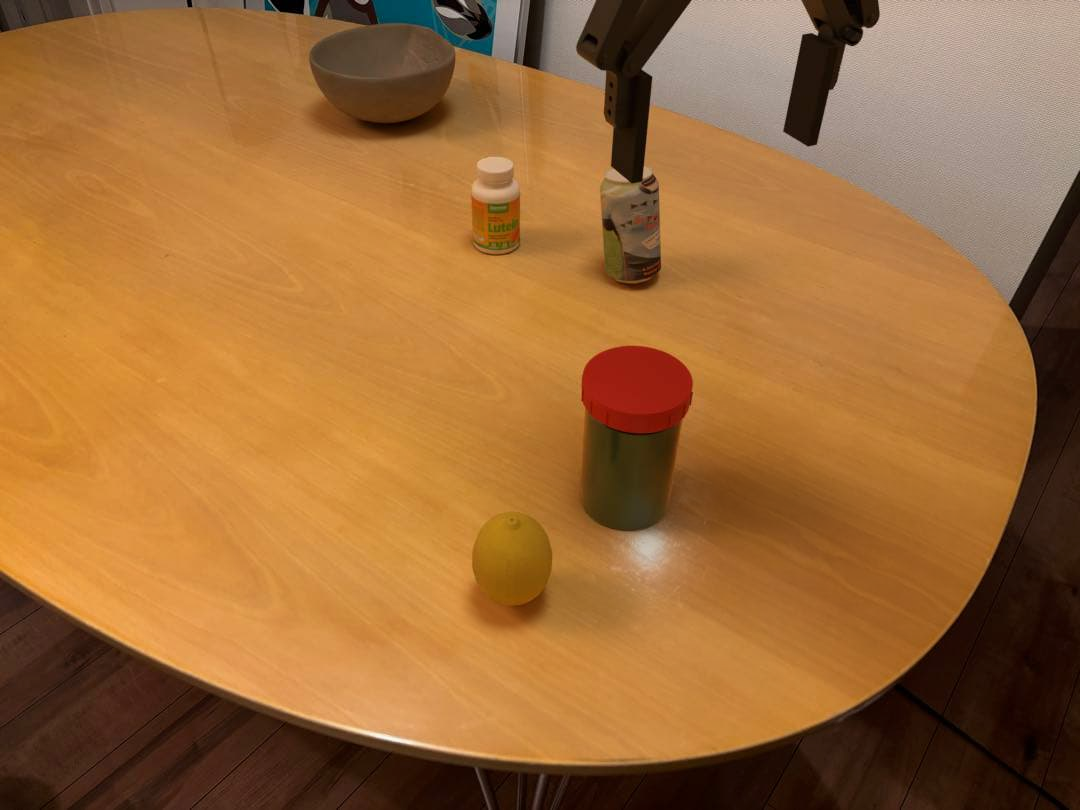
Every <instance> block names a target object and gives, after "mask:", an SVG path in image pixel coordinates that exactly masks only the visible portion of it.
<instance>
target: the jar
mask: <svg viewBox="0 0 1080 810" xmlns="http://www.w3.org/2000/svg"><path fill="white" fill-rule="evenodd" d="M583 419H584V420H583V421H584V422H583V436H582V453H581V467H580V484H579V500H580V504H581V507H582V509H583V510H584V512H585V513H586V514H587V516H589V518H591V519H592V520H593V521H595V523H598V524H600V525H601V526H603V527H606V528H609V529H613V530H617V531H625V532H627V531H628V532H632V531H633V532H634V531H639V530H644V529H648V528H650V527H652V526H653V525H656V524H657V523H659V522H660V521H661V520H663V518H664V517H665V516H666V514H667V512H668V510H669V507H670V503H671V497H672V490H673V483H674V477H675V470H676V464H677V459H678V453H679V446H680V439H681V433H682V427H683V420H684V418H683V419H682V420H681V421H680V422H678V423H677V424H676V425H674V426H672V427H670V428H668V429H665V430H662V431H658V432H653V433H629V432H624V431H620V430H616V429H613V428H610V427H608V426H606V425H604V424H602V423H600V422H599V421H597V420H596V419H595V418H593V417H592V416H591V415H590V414H589V412H588V411H587V410H586V408H585V407H584V418H583Z"/></svg>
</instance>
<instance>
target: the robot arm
mask: <svg viewBox="0 0 1080 810" xmlns="http://www.w3.org/2000/svg"><path fill="white" fill-rule="evenodd" d="M692 1H693V0H595V2H594V4H593V6H592V9H591V11H590V13H589V16H588V18H587V20H586V21H585V24H584V26H583V28H582V31H581V33H580V35H579V37H578V40H577V42H576V45H575V50H576V53H577V55H578V56H579V57H581V58H582V59H583V60H585V61H586V62H588V63H590V64H591V65H592V66H593V67H595V68H597V69H598V70H600V71H603V72H605V86H604V99H603V100H604V101H603V102H604V103H603V104H604V105H603V116H604V119H605V122H606V123H608V124H609V125H610V126H611V127H613V130H612V142H611V143H612V145H611V157H610V167H611V168H614V169H615V170H616V171H617V172H618V173H620V174H621V175H622V176H623V177H624V178H626V179H627V180H628V181H629V182H630V183H632V184H633V183H638V182H642V181H643V170H644V165H645V158H646V148H647V139H648V127H649V117H650V106H651V96H652V88H653V75H651V74H650V73H648V72H646V71H645V70H643V68H644V67H645V65H646V64H647V62H649V60H650V58H651V57H652V56H653V54H654V53H655V51H656V50H657V48H658V47H659V46H660V45H661V43H662V42H663V41H664V39H665V38H666V36H667V35H668V34H669V32H670V31H671V30H672V28H673V27H674V25H675V24H677V21H678V20H679V18H680V17H681V16H682V14H683V13H684V12H685V10H686V9H687V8H688V6H689V5H690V3H691V2H692ZM800 1H801V2H802V4H803V7H804V9H805V11H806V13H807V15H808V17H809V19H810V21H811V24H812V25H813V27H814V29H815V30H816V31H817V34H815V33H813V32H807V33H802V35H801V40H800V45H799V50H798V54H797V60H796V65H795V70H794V75H793V79H792V83H791V84H792V85H791V90H790V95H789V100H788V104H787V110H786V115H785V120H784V125H783V130H782V132H783V133H785V135H788V136H789V137H791V138H792V139H795V140H796V141H798V142H799V143H800V144H802V145H805V146H806V147H813V146H817V145H818V141H819V137H820V133H821V128H822V124H823V120H824V115H825V112H826V107H827V103H828V98H829V93H830V91H833V90H834V89H835V87H836V85H837V83H838V80H839V76H840V71H841V66H842V62H843V59H844V54H845V50H846V46H849V47H855V46H857V45H858V44H859V43H860V42H861V41H862V39H863V36H864V28H866V29H872V28H874V27H875V26H876V25H877V23H878V22H879V20H880V15H881V11H880V4H879V0H800Z"/></svg>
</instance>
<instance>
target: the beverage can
mask: <svg viewBox="0 0 1080 810" xmlns="http://www.w3.org/2000/svg"><path fill="white" fill-rule="evenodd" d="M599 196H600V197H599V198H600V210H601V226H602V228H601V229H602V240H603V241H602V243H603V257H604V270H605V273H606V274H607V275H608V276H609V277H610V278H612V279H614V280H615V281H617V282H619V283H623V284H639V283H643V282H646V281H649V280H651V279H652V278H653V277H654V276H655V275H657V274H658V273H659V272H660V271H661V269H662V253H661V252H662V251H661V250H662V247H661V246H662V245H661V217H660V215H661V211H660V182H659V180H658V178H657V177H656V176H655V174H654V171H653V169H652V167H650V166H648V165H645V164H644V170H643V181H642V182H638V183H633V184H632V183H630V182H629V181H628V180H627V179H626V178H624V177H623V176H622V175H621V174H620V173H618V172H617V171H616V170H615V169H614V168H612V167H611V168H609V169H607V170H606V171H605V172H604V177H603V180H602V181H601V183H600V186H599Z"/></svg>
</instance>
